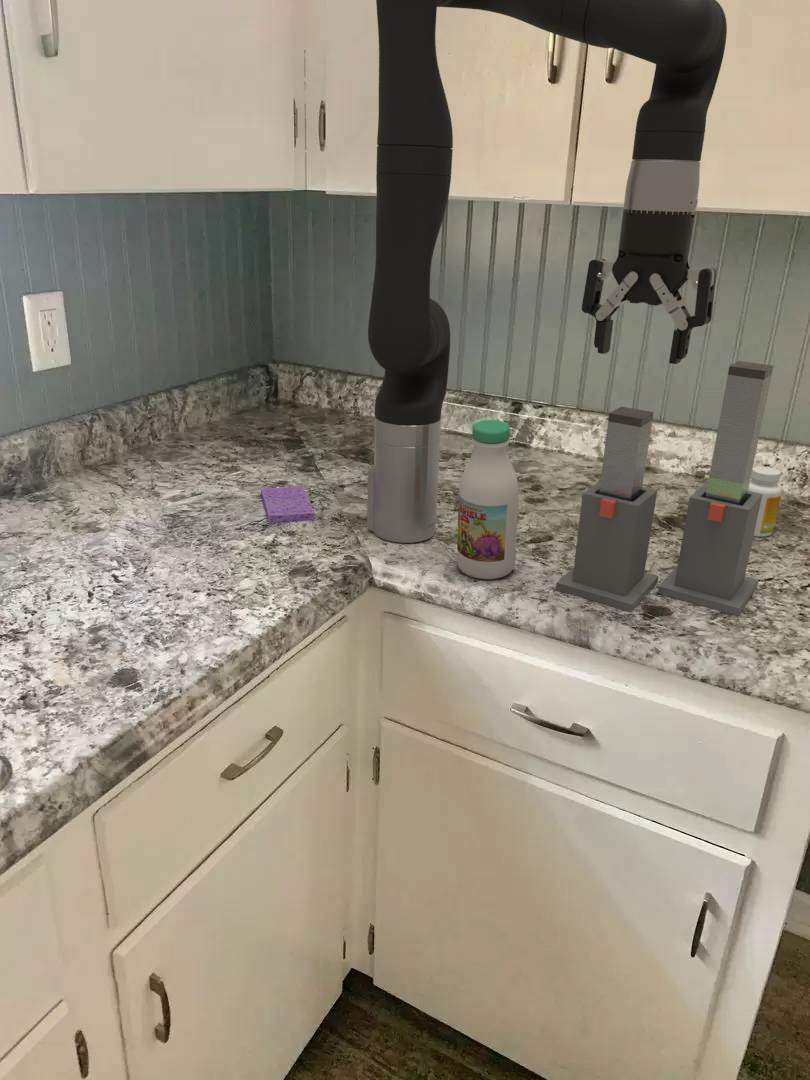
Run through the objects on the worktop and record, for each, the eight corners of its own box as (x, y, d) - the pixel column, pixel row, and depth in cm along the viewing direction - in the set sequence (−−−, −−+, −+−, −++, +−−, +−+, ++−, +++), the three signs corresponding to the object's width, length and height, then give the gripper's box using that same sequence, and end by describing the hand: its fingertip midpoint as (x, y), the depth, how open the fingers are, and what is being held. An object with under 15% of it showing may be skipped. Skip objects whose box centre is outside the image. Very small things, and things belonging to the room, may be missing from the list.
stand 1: (555, 589, 107) (566, 494, 102) (586, 563, 115) (597, 473, 110) (631, 611, 102) (646, 512, 97) (657, 582, 110) (673, 489, 105)
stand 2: (657, 593, 107) (673, 497, 102) (681, 566, 115) (697, 476, 110) (738, 615, 102) (759, 516, 97) (757, 586, 110) (777, 493, 105)
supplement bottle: (770, 526, 129) (783, 466, 126) (774, 539, 125) (788, 477, 121) (733, 522, 131) (745, 462, 127) (736, 535, 126) (748, 473, 122)
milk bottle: (479, 547, 117) (484, 410, 108) (526, 564, 112) (535, 423, 103) (445, 568, 112) (447, 426, 102) (492, 587, 107) (498, 441, 98)
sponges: (268, 526, 125) (268, 514, 124) (260, 497, 136) (260, 486, 135) (315, 523, 126) (315, 512, 126) (303, 495, 138) (303, 484, 137)
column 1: (587, 579, 108) (609, 413, 99) (599, 568, 111) (621, 406, 102) (617, 587, 106) (642, 419, 97) (628, 576, 109) (653, 412, 100)
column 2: (697, 540, 105) (729, 366, 96) (706, 530, 108) (737, 360, 99) (730, 547, 103) (765, 371, 94) (738, 537, 106) (773, 365, 97)
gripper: (583, 204, 91) (568, 354, 98) (717, 210, 84) (690, 371, 90) (609, 204, 97) (592, 345, 103) (736, 209, 90) (709, 361, 96)
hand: (638, 357), depth 97 cm, fingers open, 8 cm apart
